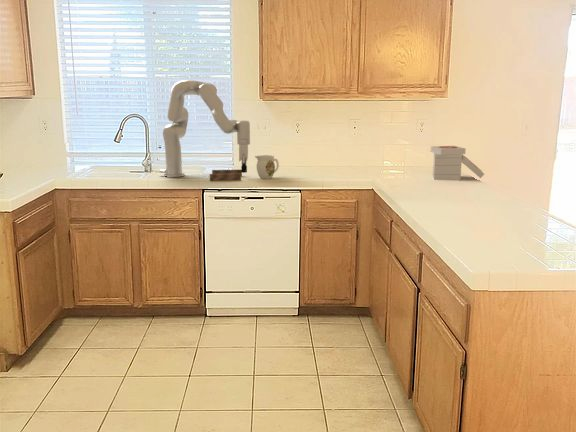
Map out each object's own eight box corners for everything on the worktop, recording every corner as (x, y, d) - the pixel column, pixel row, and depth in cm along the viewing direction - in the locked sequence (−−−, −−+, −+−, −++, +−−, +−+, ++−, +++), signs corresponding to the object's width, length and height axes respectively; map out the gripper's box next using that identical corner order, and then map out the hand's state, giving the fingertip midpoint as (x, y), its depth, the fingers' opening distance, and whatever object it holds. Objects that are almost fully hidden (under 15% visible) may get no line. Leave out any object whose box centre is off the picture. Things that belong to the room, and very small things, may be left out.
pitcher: (284, 177, 359) (284, 154, 356) (261, 180, 347) (261, 157, 344) (272, 175, 367) (272, 153, 364) (249, 178, 355) (249, 155, 352)
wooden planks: (209, 181, 348) (209, 174, 347) (212, 176, 365) (212, 169, 364) (240, 180, 349) (240, 173, 348) (241, 175, 365) (241, 169, 364)
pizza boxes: (484, 181, 338) (486, 149, 334) (430, 180, 344) (431, 149, 340) (480, 176, 357) (482, 145, 353) (429, 174, 362) (430, 145, 358)
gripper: (237, 140, 359) (238, 170, 363) (236, 143, 345) (237, 174, 349) (250, 140, 360) (250, 170, 364) (249, 143, 345) (250, 174, 349)
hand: (244, 172), depth 356 cm, fingers closed
